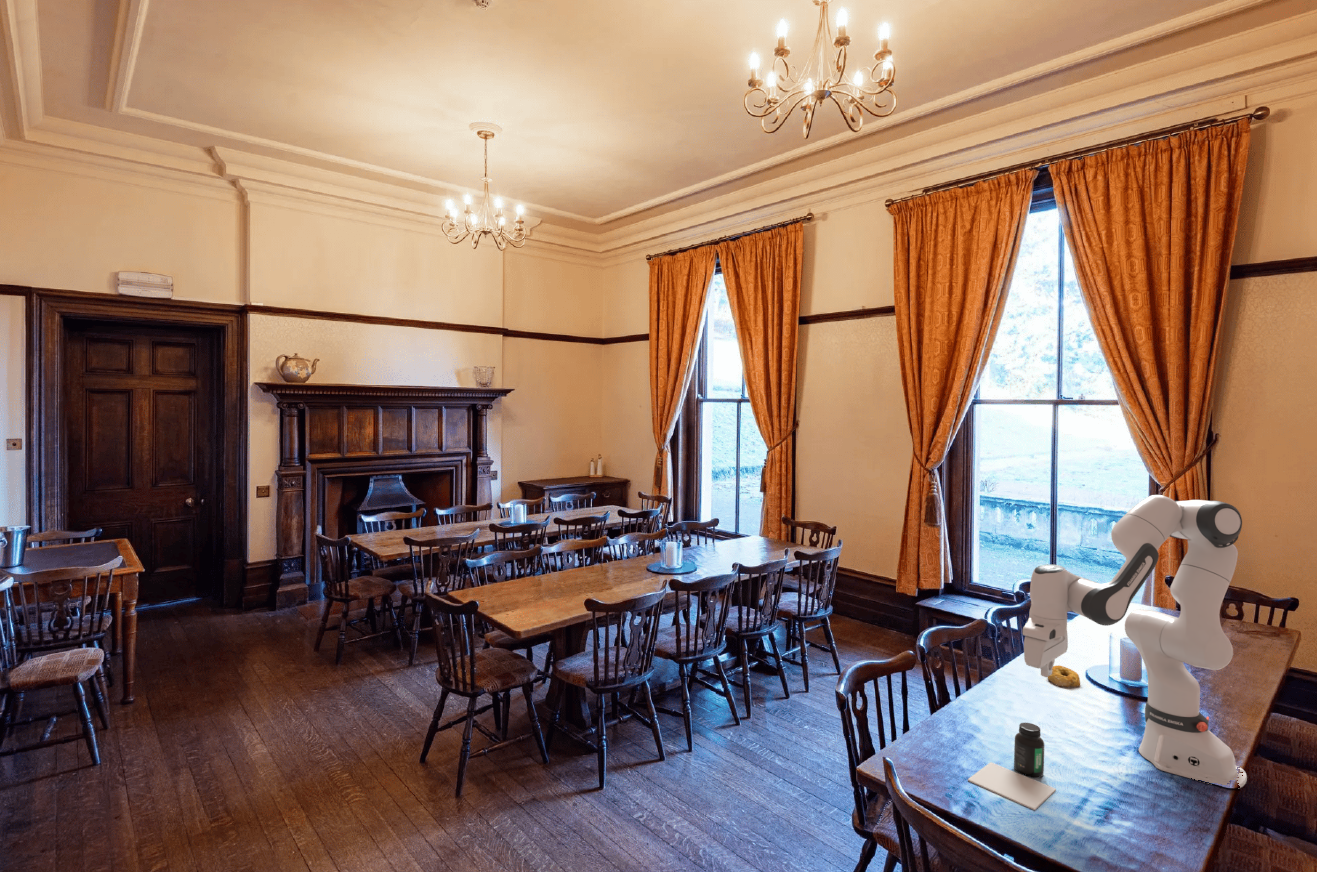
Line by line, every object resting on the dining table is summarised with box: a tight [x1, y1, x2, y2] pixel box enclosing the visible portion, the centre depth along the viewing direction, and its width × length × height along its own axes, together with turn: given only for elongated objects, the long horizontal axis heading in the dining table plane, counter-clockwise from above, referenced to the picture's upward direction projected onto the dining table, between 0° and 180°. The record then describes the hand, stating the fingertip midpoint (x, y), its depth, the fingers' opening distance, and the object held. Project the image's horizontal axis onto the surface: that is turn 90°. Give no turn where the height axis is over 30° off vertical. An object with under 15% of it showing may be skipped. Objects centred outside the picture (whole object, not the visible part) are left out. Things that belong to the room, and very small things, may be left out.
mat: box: [967, 761, 1057, 811], centre depth 167 cm, size 16×13×1 cm
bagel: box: [1047, 664, 1081, 688], centre depth 230 cm, size 10×11×5 cm
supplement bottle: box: [1013, 722, 1045, 779], centre depth 173 cm, size 7×7×12 cm
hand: (1046, 675), depth 179 cm, fingers closed
